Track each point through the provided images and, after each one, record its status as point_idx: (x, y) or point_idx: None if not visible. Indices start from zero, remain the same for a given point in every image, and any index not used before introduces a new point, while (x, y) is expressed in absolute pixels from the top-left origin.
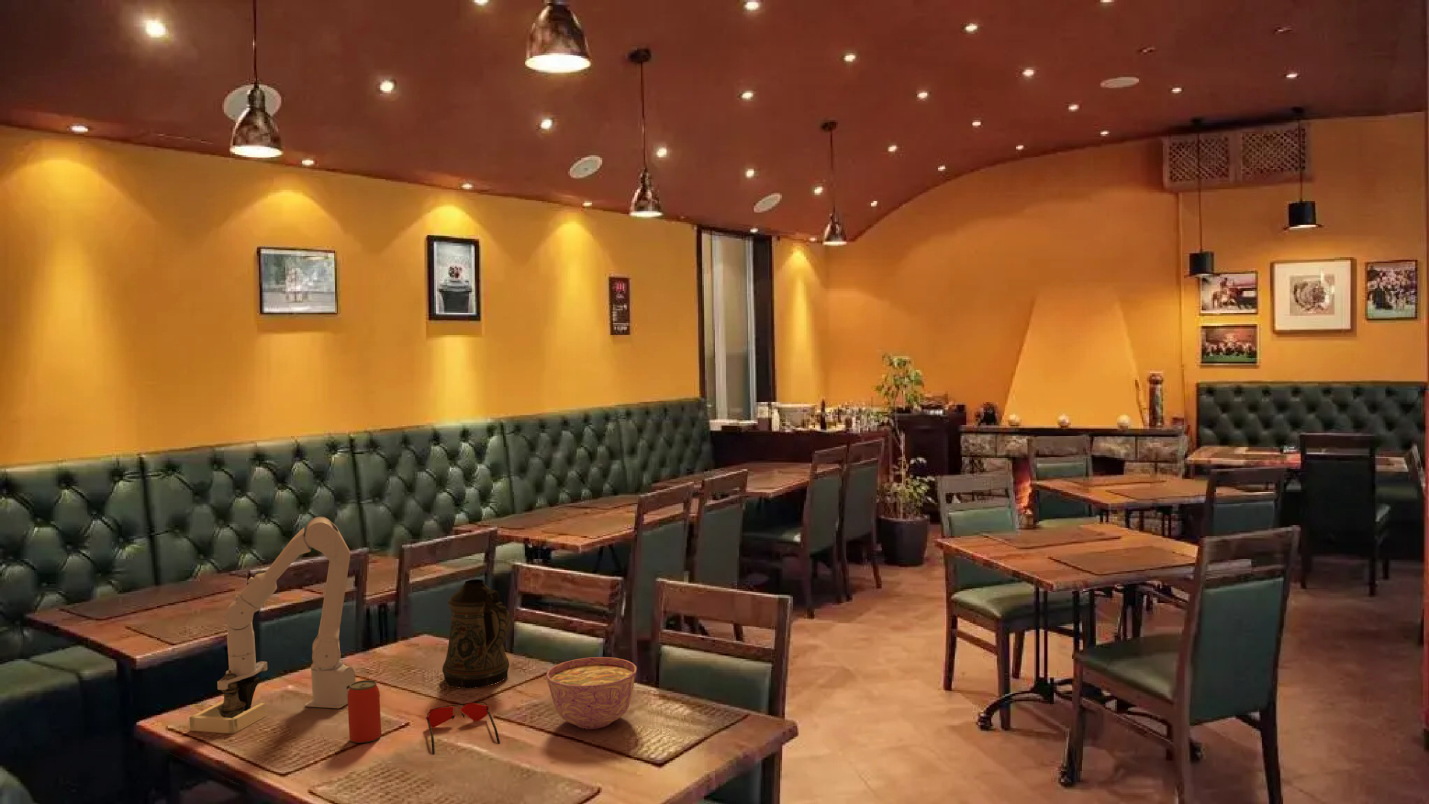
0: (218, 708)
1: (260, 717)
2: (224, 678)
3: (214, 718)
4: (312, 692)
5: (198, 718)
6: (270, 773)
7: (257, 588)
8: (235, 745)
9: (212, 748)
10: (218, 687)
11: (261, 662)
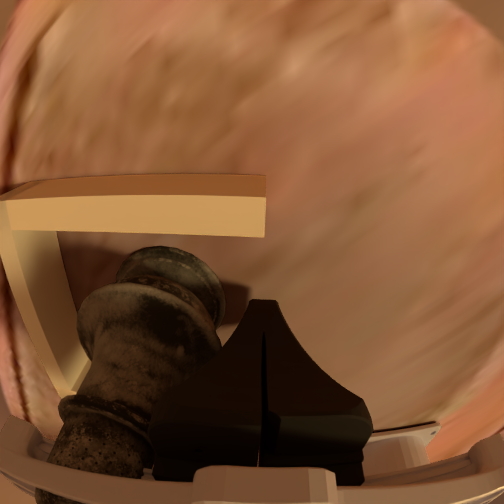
0: (83, 308)
1: None
2: (36, 496)
3: (31, 331)
4: (368, 474)
5: (2, 255)
6: None
7: None
8: (44, 393)
9: (5, 353)
10: (7, 431)
11: (489, 499)
